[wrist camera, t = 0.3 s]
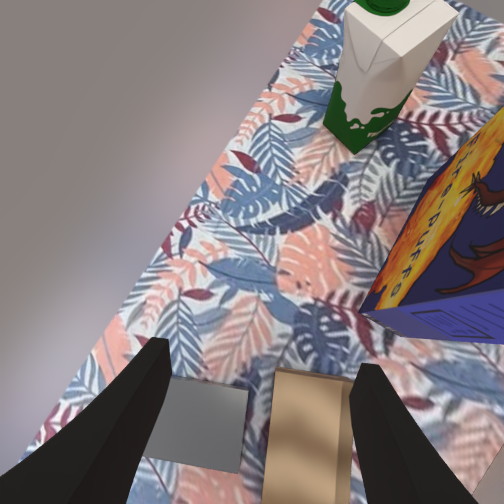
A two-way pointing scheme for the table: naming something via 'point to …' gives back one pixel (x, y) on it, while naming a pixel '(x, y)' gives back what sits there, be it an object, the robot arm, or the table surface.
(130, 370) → the robot arm
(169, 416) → the slate tile
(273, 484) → the oak overhang shelf
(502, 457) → the soap bottle
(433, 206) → the cereal box
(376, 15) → the milk carton
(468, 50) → the table surface
